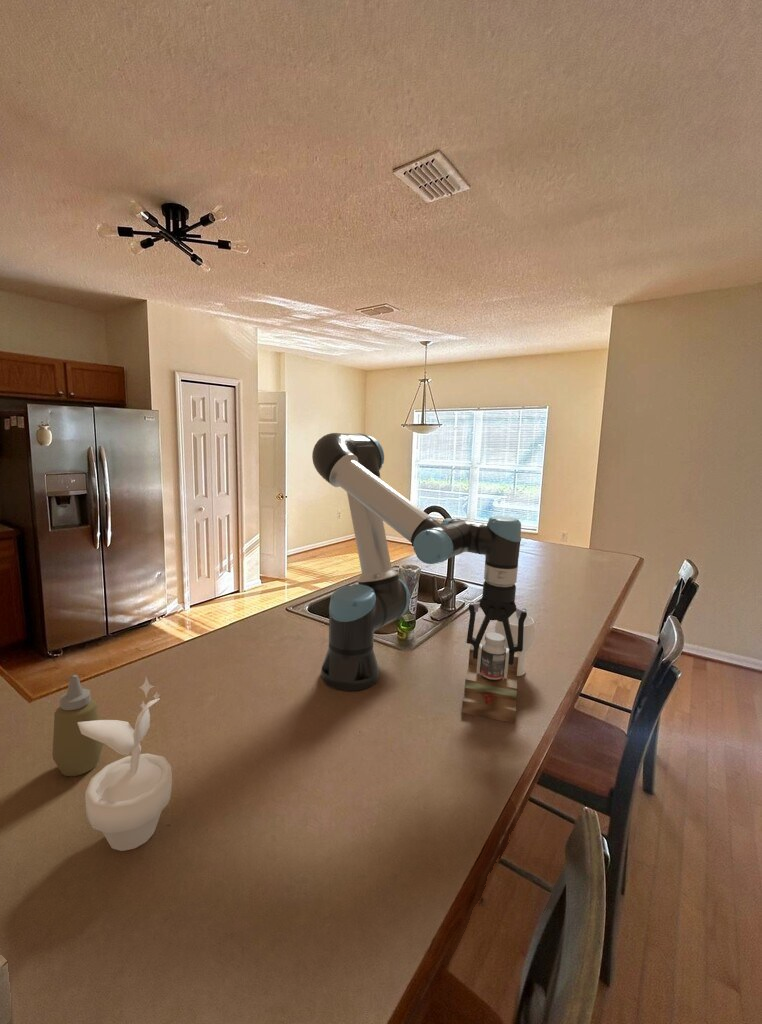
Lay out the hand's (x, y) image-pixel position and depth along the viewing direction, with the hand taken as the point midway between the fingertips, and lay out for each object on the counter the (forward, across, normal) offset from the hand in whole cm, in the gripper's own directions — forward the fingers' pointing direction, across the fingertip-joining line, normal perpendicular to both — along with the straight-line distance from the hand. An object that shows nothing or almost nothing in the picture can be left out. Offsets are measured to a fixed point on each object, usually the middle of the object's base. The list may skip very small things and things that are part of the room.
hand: (491, 673), depth 113 cm
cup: (+7, +5, +18) cm, 20 cm away
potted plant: (+7, -52, -58) cm, 79 cm away
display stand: (+7, 0, 0) cm, 7 cm away
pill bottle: (+1, 0, 0) cm, 1 cm away
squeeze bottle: (+7, -72, -50) cm, 88 cm away
